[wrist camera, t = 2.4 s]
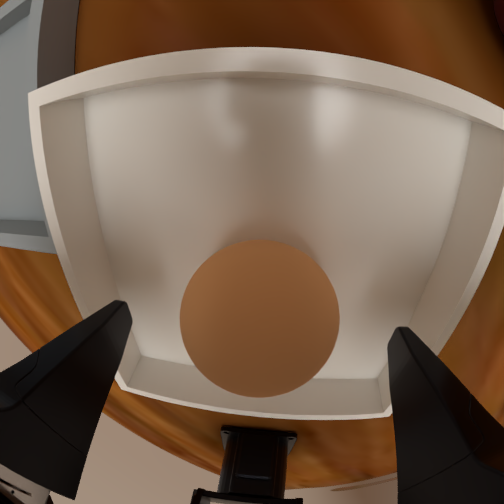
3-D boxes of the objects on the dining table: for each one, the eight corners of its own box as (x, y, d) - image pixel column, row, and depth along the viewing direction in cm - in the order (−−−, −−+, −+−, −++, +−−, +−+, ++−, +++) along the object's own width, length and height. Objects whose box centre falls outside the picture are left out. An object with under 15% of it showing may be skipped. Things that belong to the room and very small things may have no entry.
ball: (318, 323, 12) (324, 426, 8) (206, 312, 12) (175, 409, 8) (341, 220, 9) (377, 326, 5) (198, 208, 10) (135, 303, 6)
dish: (381, 375, 15) (388, 416, 12) (138, 352, 16) (121, 389, 13) (475, 109, 7) (526, 122, 4) (81, 85, 8) (28, 93, 5)
